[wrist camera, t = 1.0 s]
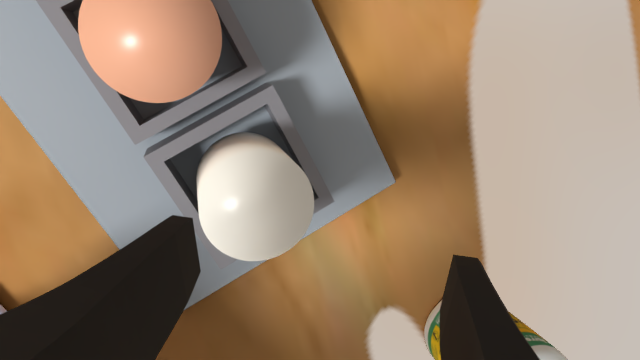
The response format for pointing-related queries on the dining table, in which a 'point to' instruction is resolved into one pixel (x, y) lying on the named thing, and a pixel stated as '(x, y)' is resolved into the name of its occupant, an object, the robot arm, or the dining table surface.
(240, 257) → the button cream
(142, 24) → the button terracotta
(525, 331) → the supplement bottle
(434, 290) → the dining table surface
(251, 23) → the panel
